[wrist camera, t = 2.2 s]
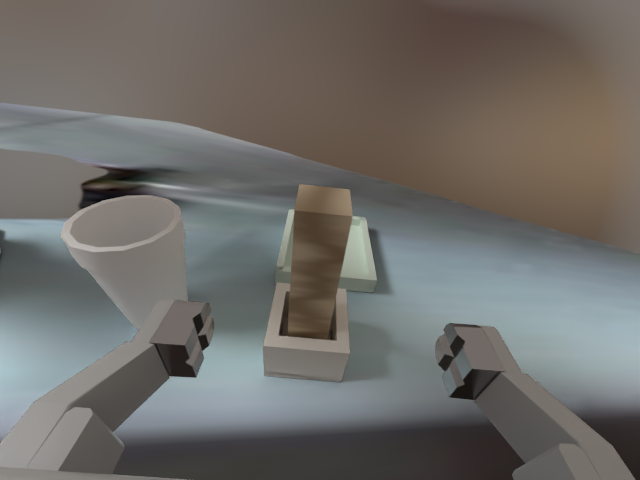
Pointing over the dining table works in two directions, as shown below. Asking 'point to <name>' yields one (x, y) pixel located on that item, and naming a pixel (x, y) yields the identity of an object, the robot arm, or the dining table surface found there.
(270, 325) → the white square container
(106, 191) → the dining table surface
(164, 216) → the foam cup
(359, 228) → the tray
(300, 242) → the tan wooden block
